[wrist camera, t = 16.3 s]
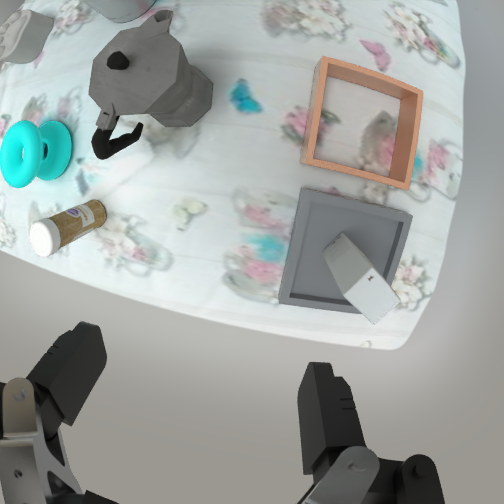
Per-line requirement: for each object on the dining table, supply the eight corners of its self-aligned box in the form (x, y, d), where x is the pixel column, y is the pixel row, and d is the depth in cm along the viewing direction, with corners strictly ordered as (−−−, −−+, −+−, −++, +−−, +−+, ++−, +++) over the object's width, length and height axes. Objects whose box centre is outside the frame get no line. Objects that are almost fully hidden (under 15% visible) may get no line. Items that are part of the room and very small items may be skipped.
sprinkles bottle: (107, 201, 37) (50, 226, 24) (106, 230, 39) (52, 262, 26) (85, 197, 37) (27, 218, 24) (84, 224, 38) (29, 253, 26)
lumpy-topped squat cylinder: (36, 63, 28) (6, 57, 20) (6, 64, 27) (-21, 61, 19) (58, 16, 25) (31, 4, 16) (24, 22, 23) (-1, 15, 15)
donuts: (-9, 148, 24) (23, 106, 22) (31, 143, 34) (64, 109, 32) (7, 202, 27) (40, 164, 25) (47, 189, 37) (82, 158, 35)
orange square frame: (315, 67, 29) (322, 55, 25) (406, 96, 29) (423, 91, 25) (299, 162, 34) (304, 163, 29) (392, 185, 34) (408, 190, 29)
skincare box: (320, 252, 37) (340, 294, 26) (342, 230, 36) (372, 265, 25) (347, 279, 38) (374, 326, 27) (368, 259, 37) (403, 300, 26)
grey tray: (301, 187, 35) (303, 189, 33) (405, 211, 35) (412, 215, 33) (278, 294, 41) (278, 303, 38) (374, 307, 41) (379, 315, 38)
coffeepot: (174, 47, 29) (113, -10, 12) (234, 67, 30) (207, 1, 13) (127, 143, 34) (39, 146, 17) (183, 167, 35) (115, 183, 18)
